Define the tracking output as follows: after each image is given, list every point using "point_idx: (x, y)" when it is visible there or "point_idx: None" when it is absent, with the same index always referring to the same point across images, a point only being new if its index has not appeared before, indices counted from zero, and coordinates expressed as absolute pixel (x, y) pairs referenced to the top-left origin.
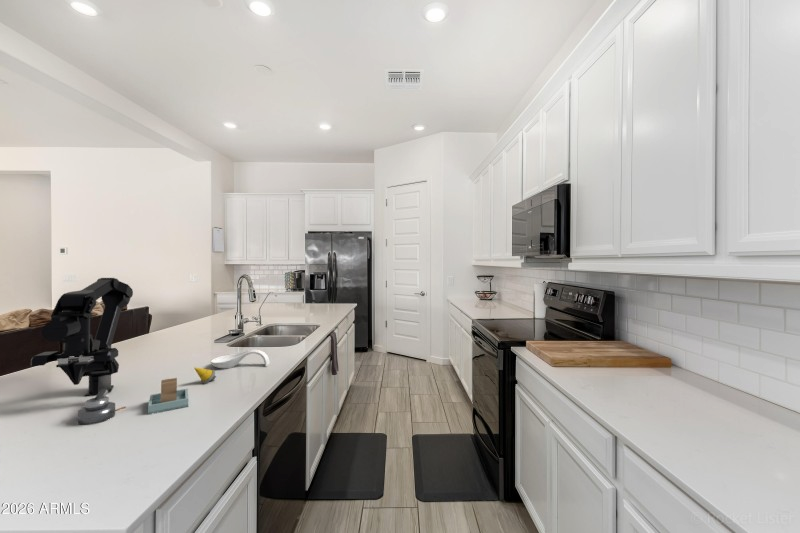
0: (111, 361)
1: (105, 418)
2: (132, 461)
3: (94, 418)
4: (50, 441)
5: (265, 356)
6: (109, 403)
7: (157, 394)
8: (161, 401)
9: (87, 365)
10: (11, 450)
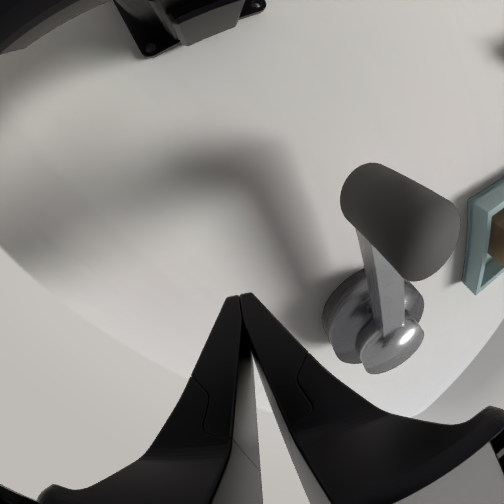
0: None
1: None
2: (430, 382)
3: None
4: None
5: None
6: (409, 300)
7: (497, 211)
8: (494, 258)
9: (372, 416)
10: (265, 406)
